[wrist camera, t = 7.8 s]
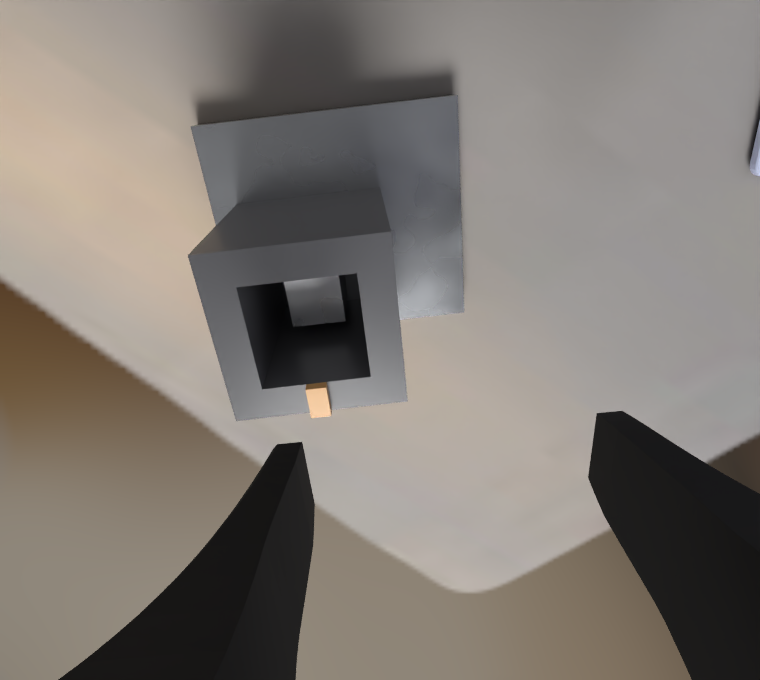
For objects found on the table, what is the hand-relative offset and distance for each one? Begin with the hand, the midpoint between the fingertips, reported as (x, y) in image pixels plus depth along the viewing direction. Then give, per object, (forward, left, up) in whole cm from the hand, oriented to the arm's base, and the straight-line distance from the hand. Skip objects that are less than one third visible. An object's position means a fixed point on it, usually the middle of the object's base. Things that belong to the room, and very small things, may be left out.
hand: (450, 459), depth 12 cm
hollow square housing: (+3, -2, -9) cm, 10 cm away
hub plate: (+2, -4, -10) cm, 11 cm away
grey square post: (+3, -2, -10) cm, 11 cm away
